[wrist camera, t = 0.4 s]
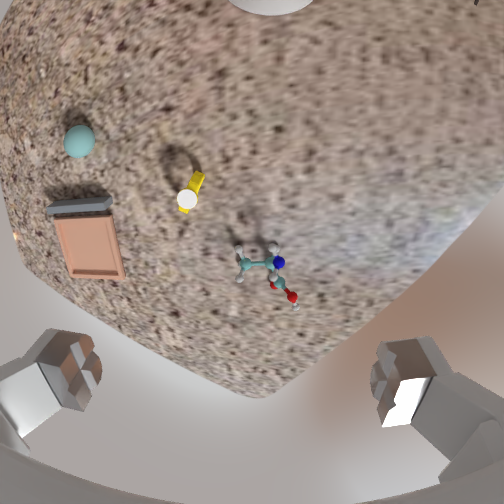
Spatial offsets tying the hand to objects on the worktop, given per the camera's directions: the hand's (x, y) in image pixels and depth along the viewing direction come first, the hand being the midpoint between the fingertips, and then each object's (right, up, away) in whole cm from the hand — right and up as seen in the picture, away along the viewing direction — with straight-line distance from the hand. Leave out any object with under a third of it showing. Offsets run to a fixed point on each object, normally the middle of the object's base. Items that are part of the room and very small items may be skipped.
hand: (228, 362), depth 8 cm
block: (-28, +11, +38) cm, 48 cm away
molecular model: (+3, +2, +42) cm, 43 cm away
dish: (-28, +4, +42) cm, 51 cm away
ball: (-25, +20, +33) cm, 46 cm away
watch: (-8, +13, +37) cm, 40 cm away
